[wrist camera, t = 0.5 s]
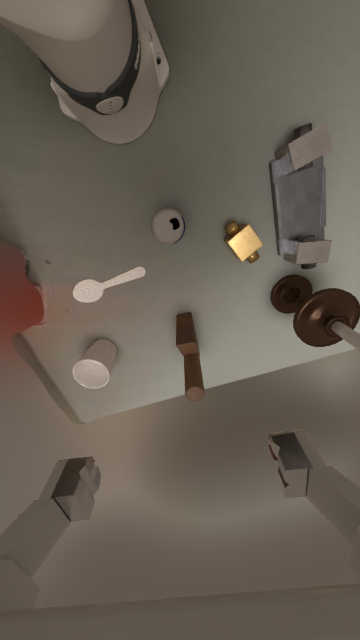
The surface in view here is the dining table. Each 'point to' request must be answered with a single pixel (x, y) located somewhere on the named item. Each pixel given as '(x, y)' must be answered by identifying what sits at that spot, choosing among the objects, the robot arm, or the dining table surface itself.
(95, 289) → the spoon
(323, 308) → the candlestick
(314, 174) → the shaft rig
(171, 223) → the energy drink
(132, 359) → the dining table surface
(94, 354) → the white cup
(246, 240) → the block
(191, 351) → the wooden toy blocks
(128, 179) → the dining table surface
